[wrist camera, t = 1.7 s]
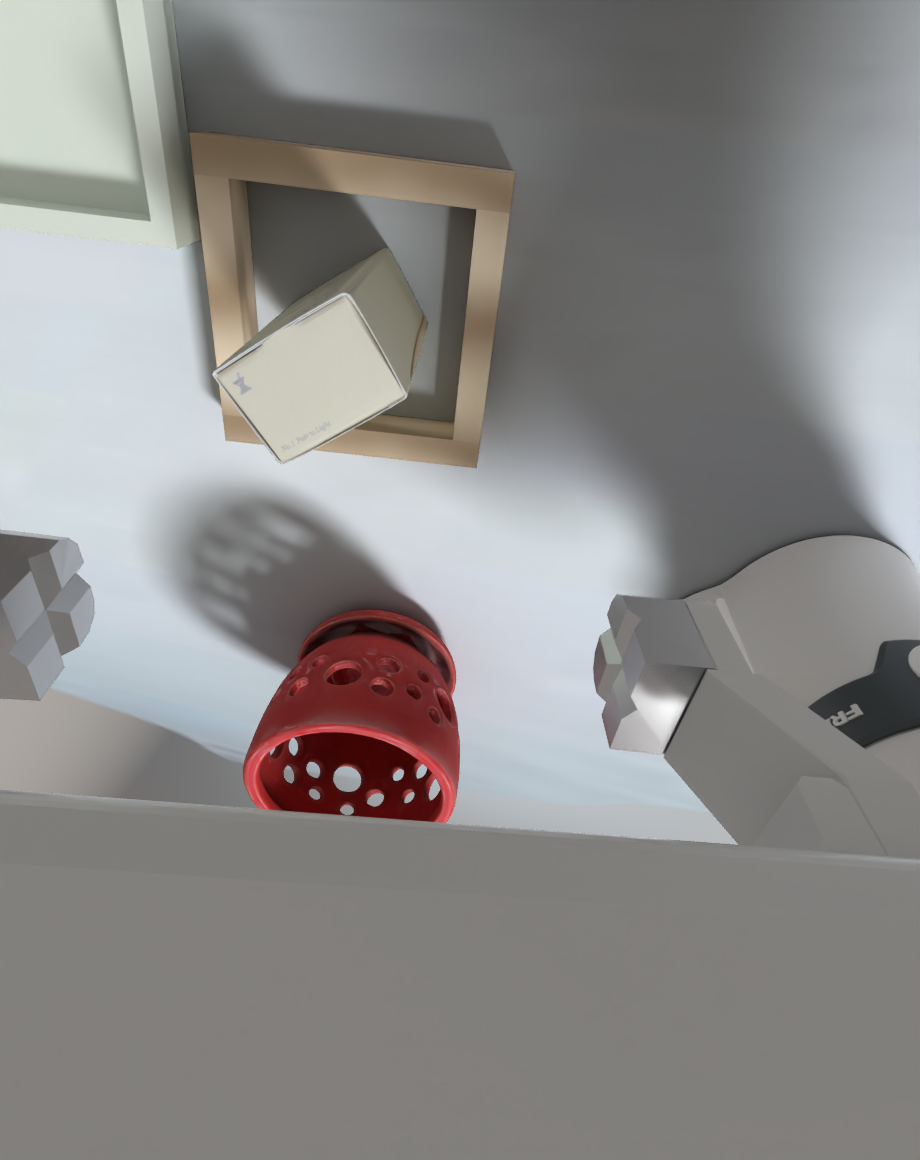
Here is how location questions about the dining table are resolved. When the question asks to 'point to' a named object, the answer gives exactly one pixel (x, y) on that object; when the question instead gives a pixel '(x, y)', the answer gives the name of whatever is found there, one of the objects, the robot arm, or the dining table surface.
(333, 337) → the skincare box
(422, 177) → the wooden frame
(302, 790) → the plant pot
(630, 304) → the dining table surface
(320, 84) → the dining table surface
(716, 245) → the dining table surface
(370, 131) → the dining table surface
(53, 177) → the tray
